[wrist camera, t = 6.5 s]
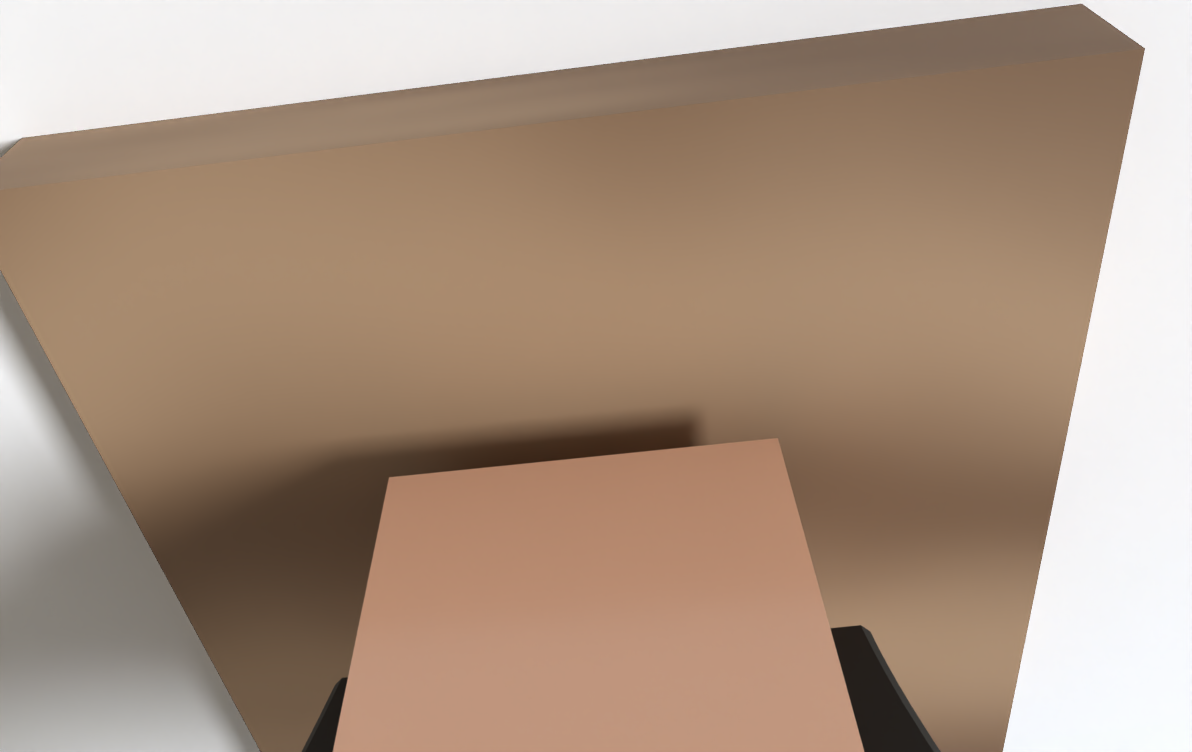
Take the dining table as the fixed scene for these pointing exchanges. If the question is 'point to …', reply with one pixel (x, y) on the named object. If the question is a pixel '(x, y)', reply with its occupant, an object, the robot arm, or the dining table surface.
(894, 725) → the robot arm
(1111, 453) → the dining table surface
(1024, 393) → the walnut block
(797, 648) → the lidded terracotta box
